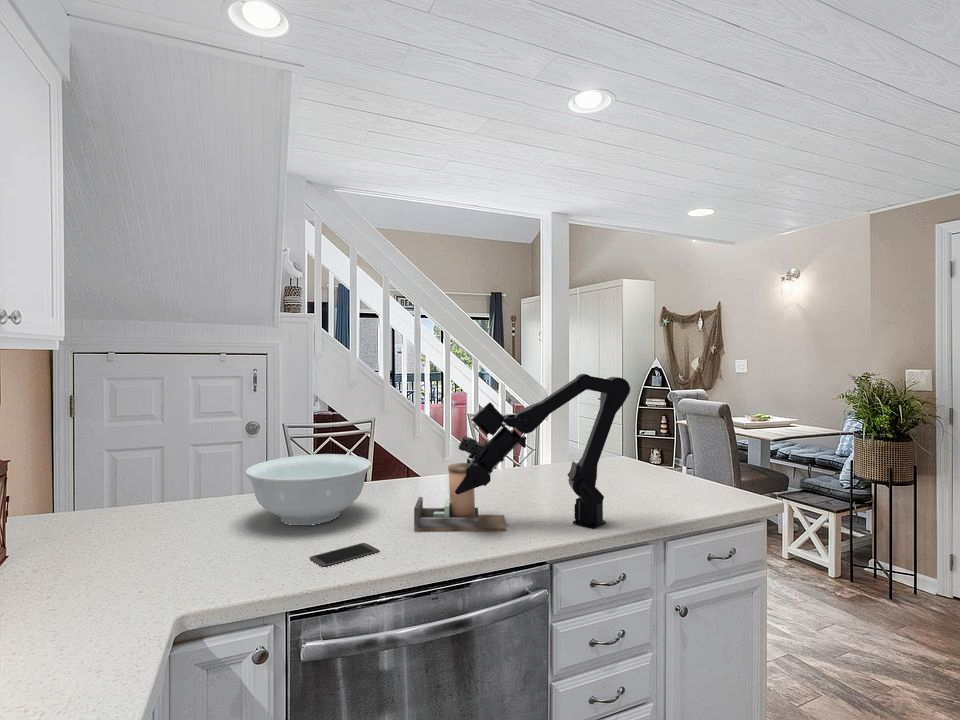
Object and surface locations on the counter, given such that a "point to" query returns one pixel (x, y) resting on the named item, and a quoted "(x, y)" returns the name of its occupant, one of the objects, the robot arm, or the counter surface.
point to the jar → (465, 501)
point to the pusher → (446, 511)
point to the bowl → (308, 486)
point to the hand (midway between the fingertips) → (456, 489)
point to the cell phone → (343, 554)
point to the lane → (455, 521)
